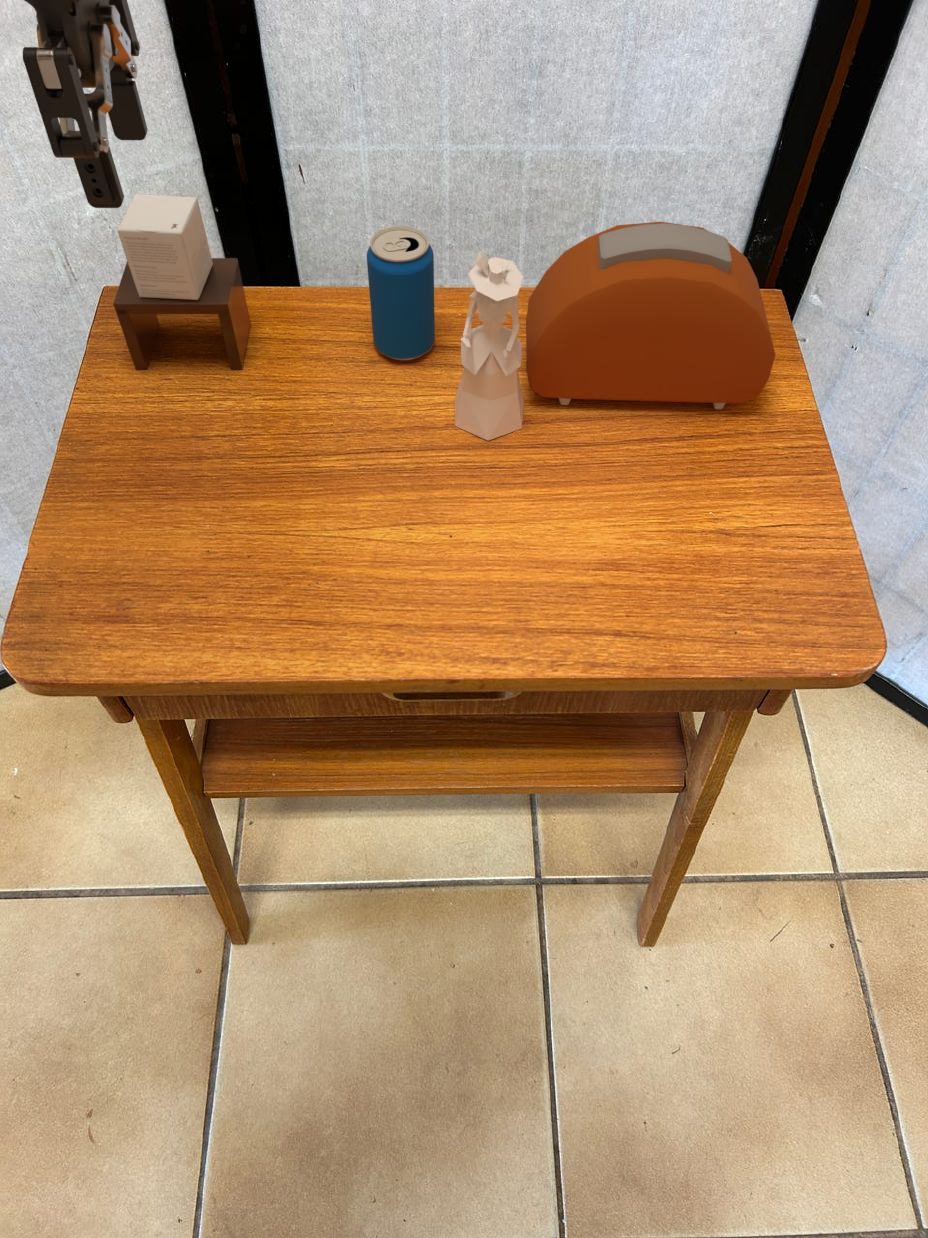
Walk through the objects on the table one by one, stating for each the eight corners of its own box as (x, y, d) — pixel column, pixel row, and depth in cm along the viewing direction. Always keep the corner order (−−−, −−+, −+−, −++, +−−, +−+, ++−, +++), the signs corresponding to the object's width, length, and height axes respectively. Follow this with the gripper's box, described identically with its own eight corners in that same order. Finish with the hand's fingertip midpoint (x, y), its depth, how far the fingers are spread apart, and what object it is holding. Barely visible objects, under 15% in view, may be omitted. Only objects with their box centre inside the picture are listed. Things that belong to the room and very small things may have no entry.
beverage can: (442, 358, 99) (441, 255, 90) (382, 370, 98) (375, 267, 88) (425, 320, 103) (422, 218, 93) (367, 331, 102) (358, 229, 92)
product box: (215, 265, 95) (199, 195, 89) (199, 302, 92) (181, 233, 86) (155, 260, 95) (135, 191, 89) (136, 298, 92) (115, 228, 86)
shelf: (242, 369, 98) (227, 303, 92) (135, 370, 98) (112, 303, 91) (251, 323, 102) (237, 257, 96) (148, 323, 102) (127, 257, 96)
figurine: (455, 442, 92) (456, 280, 78) (453, 386, 97) (453, 223, 82) (528, 440, 92) (542, 279, 78) (521, 384, 97) (534, 222, 82)
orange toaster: (745, 356, 100) (791, 208, 86) (758, 415, 95) (809, 267, 81) (523, 350, 100) (534, 201, 87) (523, 408, 95) (535, 260, 81)
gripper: (76, -69, 47) (158, 230, 60) (130, -165, 56) (192, 117, 69) (-76, -70, 47) (39, 230, 60) (1, -166, 55) (87, 116, 69)
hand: (120, 169), depth 64 cm, fingers open, 8 cm apart
